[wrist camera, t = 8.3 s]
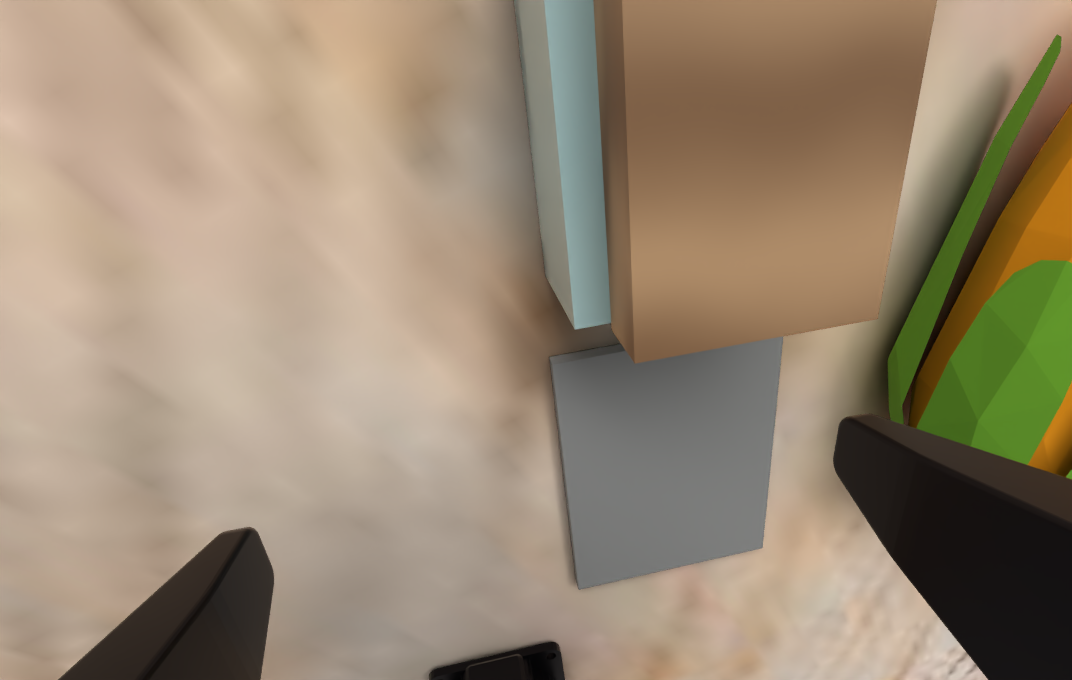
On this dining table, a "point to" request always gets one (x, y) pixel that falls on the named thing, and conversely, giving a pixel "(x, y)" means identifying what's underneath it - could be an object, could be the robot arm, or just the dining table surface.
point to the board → (752, 163)
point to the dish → (566, 151)
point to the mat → (664, 455)
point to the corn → (1001, 312)
